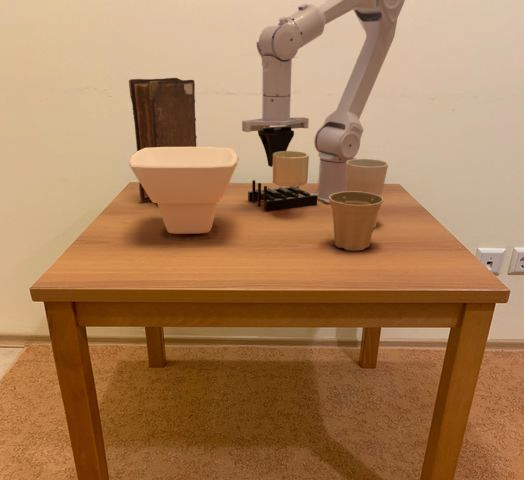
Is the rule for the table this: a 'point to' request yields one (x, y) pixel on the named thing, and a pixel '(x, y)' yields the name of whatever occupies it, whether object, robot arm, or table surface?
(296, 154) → the beige mug
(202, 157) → the bowl
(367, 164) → the cup
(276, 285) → the table surface
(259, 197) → the rack
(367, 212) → the flower pot
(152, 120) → the book
